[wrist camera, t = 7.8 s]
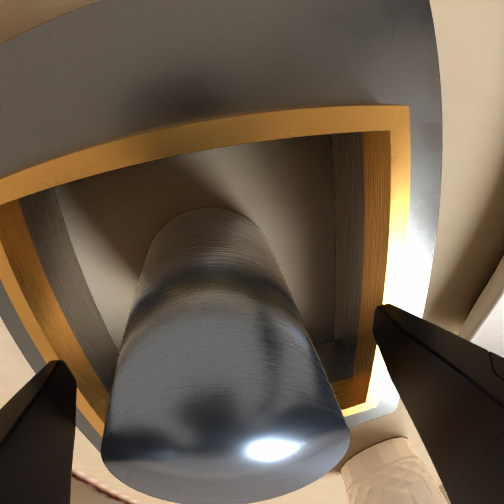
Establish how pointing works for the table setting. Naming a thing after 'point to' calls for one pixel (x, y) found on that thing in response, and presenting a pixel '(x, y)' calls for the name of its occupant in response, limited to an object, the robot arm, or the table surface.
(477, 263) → the table surface
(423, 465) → the white cup
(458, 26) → the table surface
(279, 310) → the can
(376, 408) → the grey and gold frame
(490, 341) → the salad plate
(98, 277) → the table surface
